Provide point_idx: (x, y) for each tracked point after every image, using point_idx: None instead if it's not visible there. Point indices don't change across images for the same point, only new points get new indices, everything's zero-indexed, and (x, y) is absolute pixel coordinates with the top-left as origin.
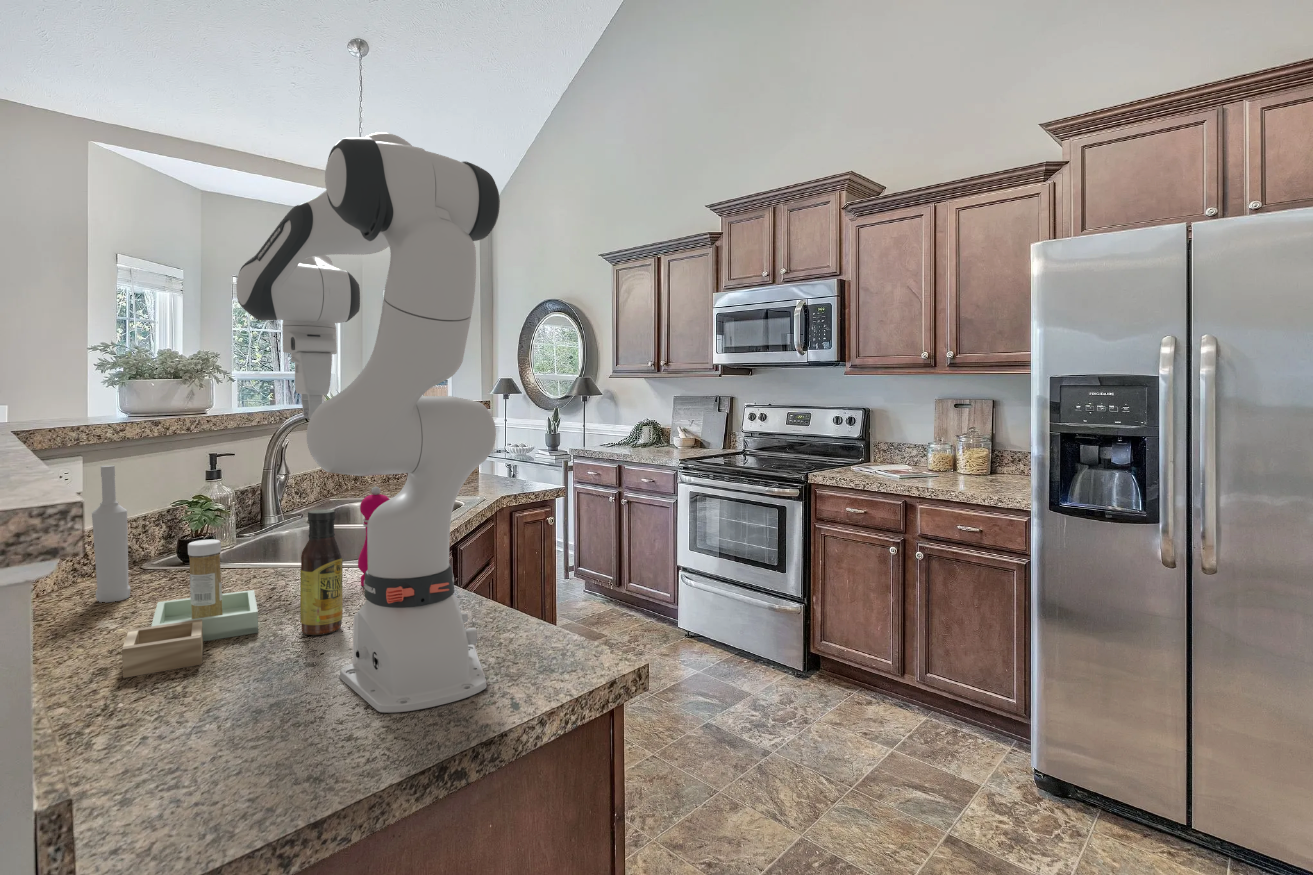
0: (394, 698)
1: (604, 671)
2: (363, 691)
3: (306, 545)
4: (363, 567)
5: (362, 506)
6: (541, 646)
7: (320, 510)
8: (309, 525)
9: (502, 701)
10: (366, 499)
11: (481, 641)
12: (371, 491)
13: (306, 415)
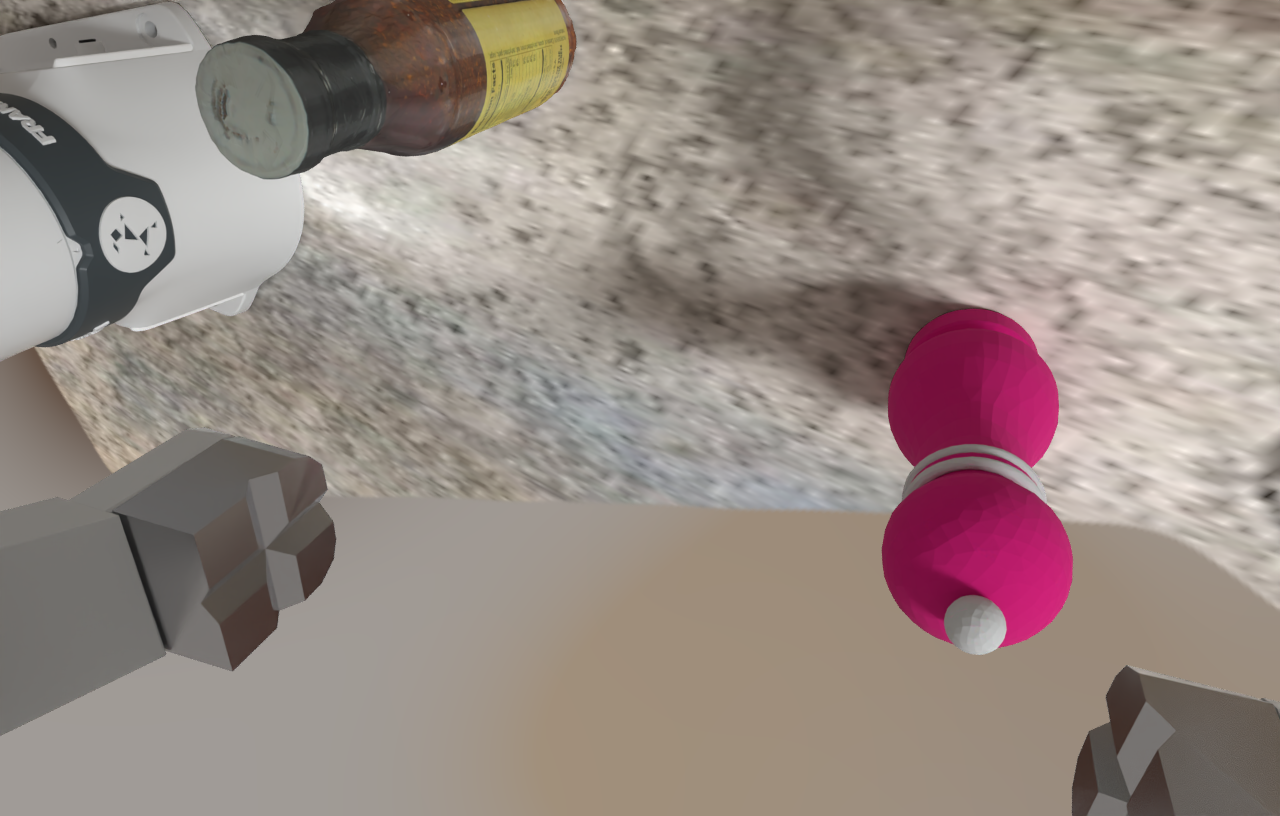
0: (16, 70)
1: (106, 430)
2: (55, 24)
3: (337, 13)
4: (937, 337)
5: (962, 494)
6: (231, 423)
7: (269, 113)
8: (282, 39)
9: None
10: (956, 538)
11: (291, 351)
12: (975, 601)
13: (1127, 726)
